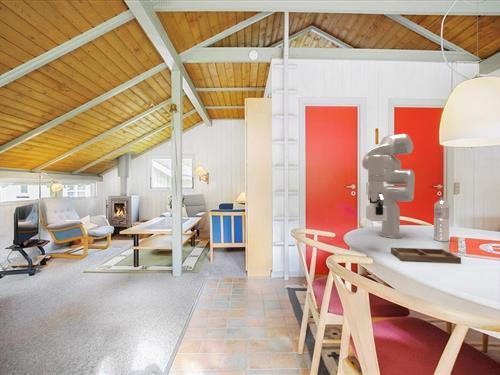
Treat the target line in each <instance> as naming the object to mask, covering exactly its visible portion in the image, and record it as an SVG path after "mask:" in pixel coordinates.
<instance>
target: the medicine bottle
mask: <svg viewBox="0 0 500 375" xmlns="http://www.w3.org/2000/svg"><path fill="white" fill-rule="evenodd" d="M377 201H380V200H377ZM365 207H366V208H365V212H366V213H365V217H366V220H368V221H371V222H382V221H387V207H385V206H383V215H376V207H377V206H376V201H375V202H372V201H371V198H370V201H369V204H367V205H366V206H365Z"/></svg>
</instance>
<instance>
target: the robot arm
mask: <svg viewBox="0 0 500 375" xmlns="http://www.w3.org/2000/svg"><path fill="white" fill-rule="evenodd" d="M413 151H414V143H413V140H412V139H411V137H410V136H409V135H408V134H407V133H397V134H390V135H386V136H384V137H383V138H382V139H381V140H380V143H379V145H378V146H376V147H374V148H372V149H370V150H368V151H367V152H366V153H365V154H364V156H363V159H362V161H361V162H362V165H361V166H362V167H363V169H364V170H367V180H368V181H367V183H368V187H367V200H369V202H370V198H371V201H372V202H375V201H376V206H377V207H376V215H383V206H385V207H387V221H381V231H380V232H378V235H379V236H380V237H384V238H389V239H391V238H392V239H401V238H403V234H402V233H400V227H401V226H400V225H401V224H400V217H401V216H400V215H401V213H400V211H401V209H400V207H399V205H398V204H397V203H396V202H406V203H408V202H413V200H414V197H415V183H416V178H415V172H414V171H413V169H409V168H408V169H402V162H401V160H400V159H398V158H397V157H396V156H402V155H409V154H411V153H412V152H413ZM384 183H385V184H387V185H384ZM377 200H380V201H377Z"/></svg>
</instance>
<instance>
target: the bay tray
mask: <svg viewBox="0 0 500 375" xmlns="http://www.w3.org/2000/svg"><path fill="white" fill-rule="evenodd" d="M390 253H391V254H392V255H393V256H394V257H397V259H399V260H400V261H402V262H413V263H414V262H416V263H418V262H419V263H437V264H438V263H439V264H440V263H443V264H462V257H460V256H458V255H456V254H454V253H453V252H450V251H447V250H445V249H443V248H414V247H412V248H411V247H390Z"/></svg>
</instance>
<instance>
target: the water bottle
mask: <svg viewBox="0 0 500 375" xmlns="http://www.w3.org/2000/svg"><path fill="white" fill-rule="evenodd" d="M433 206H434V209H433V210H434V211H433V212H434V215H433V239H434V240H435V241H436V242H444V243H445V242H449V240H450V204H449V203H448V202H447V201H446V200H445V198H444V197H439V200H438V201H436V202H435V203H434V204H433Z"/></svg>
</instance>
